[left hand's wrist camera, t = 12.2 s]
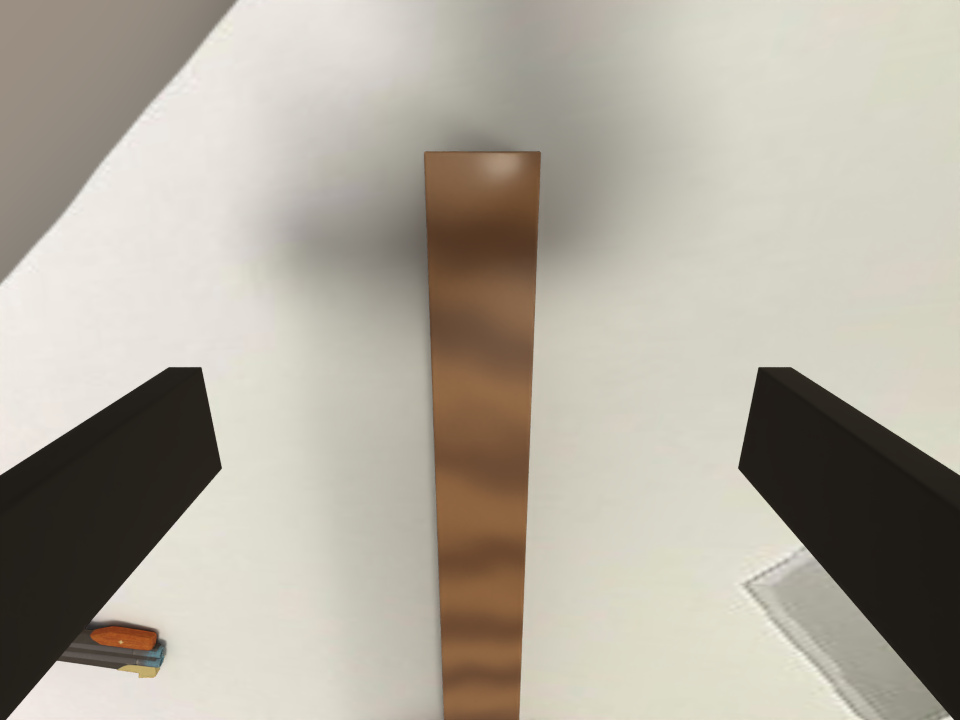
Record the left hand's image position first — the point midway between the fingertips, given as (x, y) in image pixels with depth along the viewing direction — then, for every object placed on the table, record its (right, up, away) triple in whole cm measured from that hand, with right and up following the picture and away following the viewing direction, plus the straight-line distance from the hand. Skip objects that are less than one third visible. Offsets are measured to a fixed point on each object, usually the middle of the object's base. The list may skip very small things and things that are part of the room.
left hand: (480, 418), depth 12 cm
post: (0, -13, +30) cm, 33 cm away
